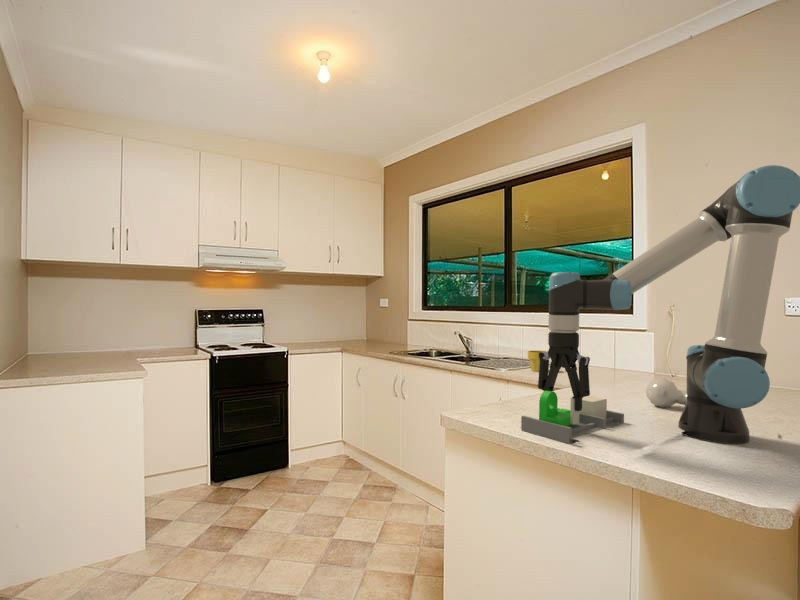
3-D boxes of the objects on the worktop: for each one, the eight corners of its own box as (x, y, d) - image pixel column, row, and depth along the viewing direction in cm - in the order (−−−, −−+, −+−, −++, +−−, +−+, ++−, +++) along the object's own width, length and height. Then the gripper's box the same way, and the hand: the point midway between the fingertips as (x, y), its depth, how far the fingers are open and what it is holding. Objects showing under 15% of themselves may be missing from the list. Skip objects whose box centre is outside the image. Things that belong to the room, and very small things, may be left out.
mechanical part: (560, 428, 112) (561, 395, 112) (539, 423, 116) (539, 391, 116) (583, 420, 120) (584, 390, 120) (562, 415, 125) (562, 386, 125)
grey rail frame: (623, 427, 124) (624, 413, 124) (569, 444, 108) (569, 428, 108) (576, 416, 135) (577, 404, 135) (521, 430, 119) (521, 416, 120)
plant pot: (527, 371, 223) (527, 351, 223) (527, 369, 233) (527, 349, 233) (549, 373, 220) (549, 352, 220) (548, 370, 230) (549, 350, 230)
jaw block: (606, 420, 126) (606, 398, 126) (592, 424, 122) (593, 401, 122) (586, 416, 131) (586, 395, 131) (572, 419, 127) (572, 398, 127)
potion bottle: (643, 408, 154) (695, 420, 146) (643, 395, 147) (698, 407, 139) (648, 384, 158) (699, 394, 150) (648, 370, 151) (702, 380, 143)
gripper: (606, 333, 113) (605, 426, 113) (541, 329, 129) (540, 410, 129) (590, 334, 109) (589, 431, 109) (524, 329, 124) (523, 414, 124)
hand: (562, 419), depth 119 cm, fingers closed on mechanical part, 6 cm apart
